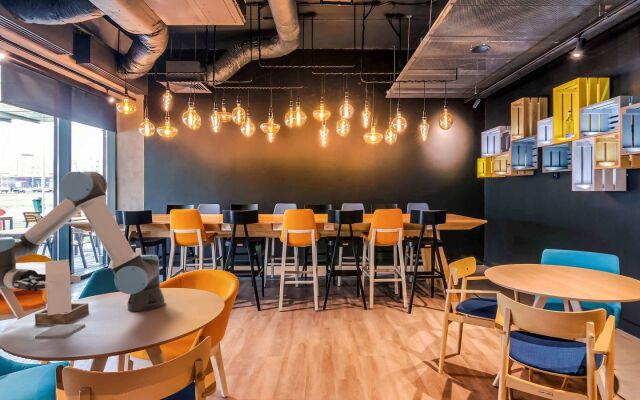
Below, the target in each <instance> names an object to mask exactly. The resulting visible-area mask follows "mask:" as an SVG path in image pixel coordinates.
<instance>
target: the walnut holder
mask: <svg viewBox="0 0 640 400" xmlns="http://www.w3.org/2000/svg"><path fill="white" fill-rule="evenodd" d="M71 308H72V311H70V312H65V313H59V314H54V315H48V312H47V308H46V309H44V310H41V311H39V312H36V313H34V318H35V319H34V321H35V325H65V324H70V323H72V322H74V321H75V320H77V319H80V318H81V317H83V316H85V315H87V314H88V313H90V311H89V303H88V302H86V303H85V302H84V303H83V302H77V303H76V302H75V303H74V302H73V303H72V302H71Z"/></svg>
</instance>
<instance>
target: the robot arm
mask: <svg viewBox="0 0 640 400" xmlns="http://www.w3.org/2000/svg"><path fill="white" fill-rule="evenodd" d="M107 189H108V182H107V179H106V178H105V176H104V175H102V174H101V173H99V172H97V171H90V170H89V171H88V170H87V171H85V170H83V169H82V170H81V169H78V170H72V171H69V172H67V173H65V174H64V175H63V176H62V177H61V179H60V181H59V192H60V194H61V195H62V196H63V198H64V199H63V200H62V201H61V202H60V203H59V204H57V205H56V206H55V207H53V209H51V210H50V211H49V212H48V213H46V215H44V216H43V217H41V219H40V220H39V221H37V222H36V223H35V224H34V225H32V226H31V227H30V228H29V229H28V230H27V231H25V232H24V233H23V234H22V235H21V236H20V237H18V238H17V239H15V238H14V237H12V236H4V237H3V236H1V237H0V288H1V289H3V288H4V289H15V290H16V291H18V290H22V291H26V292H30V291H32V290H33V292H34V293H35V292H36V293H37V292H38V290H41V291H46V290H51V291H53V290H54V282H46V273H38V272H37V271H36V270H34V269H25V268H17V259H18V258H21V257H22V258H23V257H26V256H30V255H32V254H34V253H36V252H37V251H38V250H39V249H40V246H41V245H42V244H43V243H45V242H46V241H47V240H49V238H50V237H51V236H52V235H53V234H55V233H56V232H57V231H59V230H60V229H61V228H63V226H65V225H66V224H67V223H68V222H69V221H70V220H71V219H73V218H74V217H75V216H76V215H77V214H78V213H80V211H82V212H83V215H84V216H85V218H86V220H87V222H88V224H90V227H91V228H92V230H93V232H94V233H95V235H96V237H97V239H98V240H99V242H100V243H101V245H102V247H103V249H104V251H105V252H106V254H107V256H108V257H109V259H110V261H111V263H112V266H111V268H110V269H111V271H112V272H113V274H114V278H113V282H114V286H115V287H116V289H117V290H118V291H119V292H121V293H122V294H127V295H129V298H128V301H127V310H128V311H129V312H130V311H131V312H145V311H146V312H147V311H151V310H155V309H158V308H160V307H163V306H164V305H165V301H166V299H165V297H164V294H163V292H162V290H161V289H162V288H161V284H160V281H161V280H160V259H159V256H158V255H157V254H140V253H137V252H134V250H133V248H132V247H131V244H130V243H129V241H128V239H127V238H126V236H125V235H124V233H123V231H122V229H121V228H120V225H119V224H118V222H117V220H116V218H115V216H114V215H113V213H112V211H111V210H110V208H109V206H108V205H107V203H106V198H107V194H106V192H107ZM81 278H82V277H81V275H80V274H73V273H72V272H70V283H75V284H80V283H82V282H81Z"/></svg>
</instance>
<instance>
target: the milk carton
mask: <svg viewBox="0 0 640 400" xmlns="http://www.w3.org/2000/svg"><path fill="white" fill-rule="evenodd" d="M69 261H70V259H69V258H68V259H59V260H52V261H45V265H44V267H45V270H44V271H45V274H46V281H45V282H54V290H53V291H51V290H45V291H46V309H47V312H48V315H54V314H59V313H65V312H70V311H72V308H71V303H72V292H71V291H72V287H71V285H72V282H70V273H71V269H70V262H69Z"/></svg>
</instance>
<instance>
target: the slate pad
mask: <svg viewBox="0 0 640 400" xmlns="http://www.w3.org/2000/svg"><path fill="white" fill-rule="evenodd" d="M85 326H86V324H85V323H84V324H83V323H79V324H78V323H77V324H76V323H75V324H73V323H72V324H70V323H68V324H54V325H53V326H52V327H50V328H48V329H46V330H44V331H42V332H41V333H38V334H36V335H34V339H65V338H67V337H69V336H71V335H73V334H74V333H77V332H78V331H79V330H82V329H83V328H85Z"/></svg>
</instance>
